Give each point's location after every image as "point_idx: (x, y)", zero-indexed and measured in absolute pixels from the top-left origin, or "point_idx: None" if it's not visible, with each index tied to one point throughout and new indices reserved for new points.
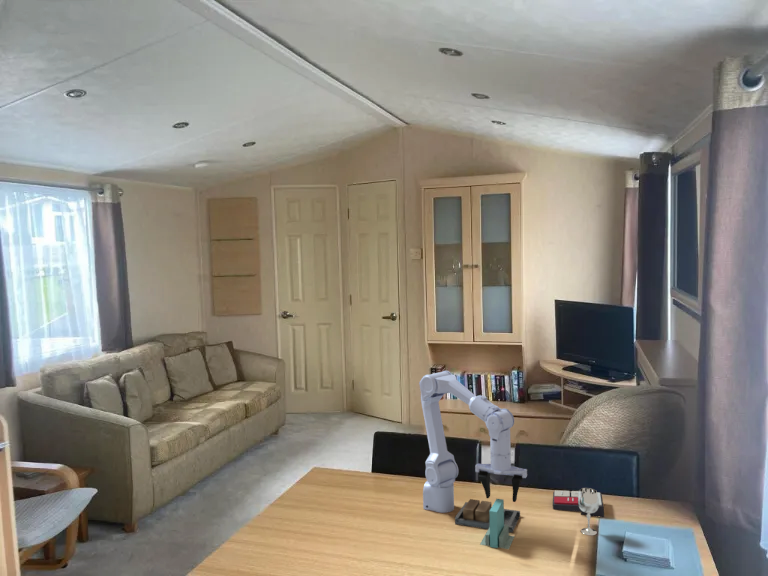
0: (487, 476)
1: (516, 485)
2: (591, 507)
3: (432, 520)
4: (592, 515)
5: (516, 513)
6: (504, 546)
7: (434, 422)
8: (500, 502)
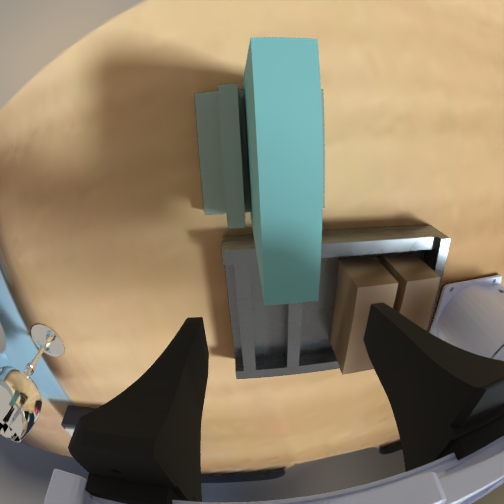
0: (446, 422)
1: (126, 403)
2: None
3: (483, 244)
4: (84, 408)
5: (243, 362)
6: (218, 107)
7: None
8: (273, 244)
